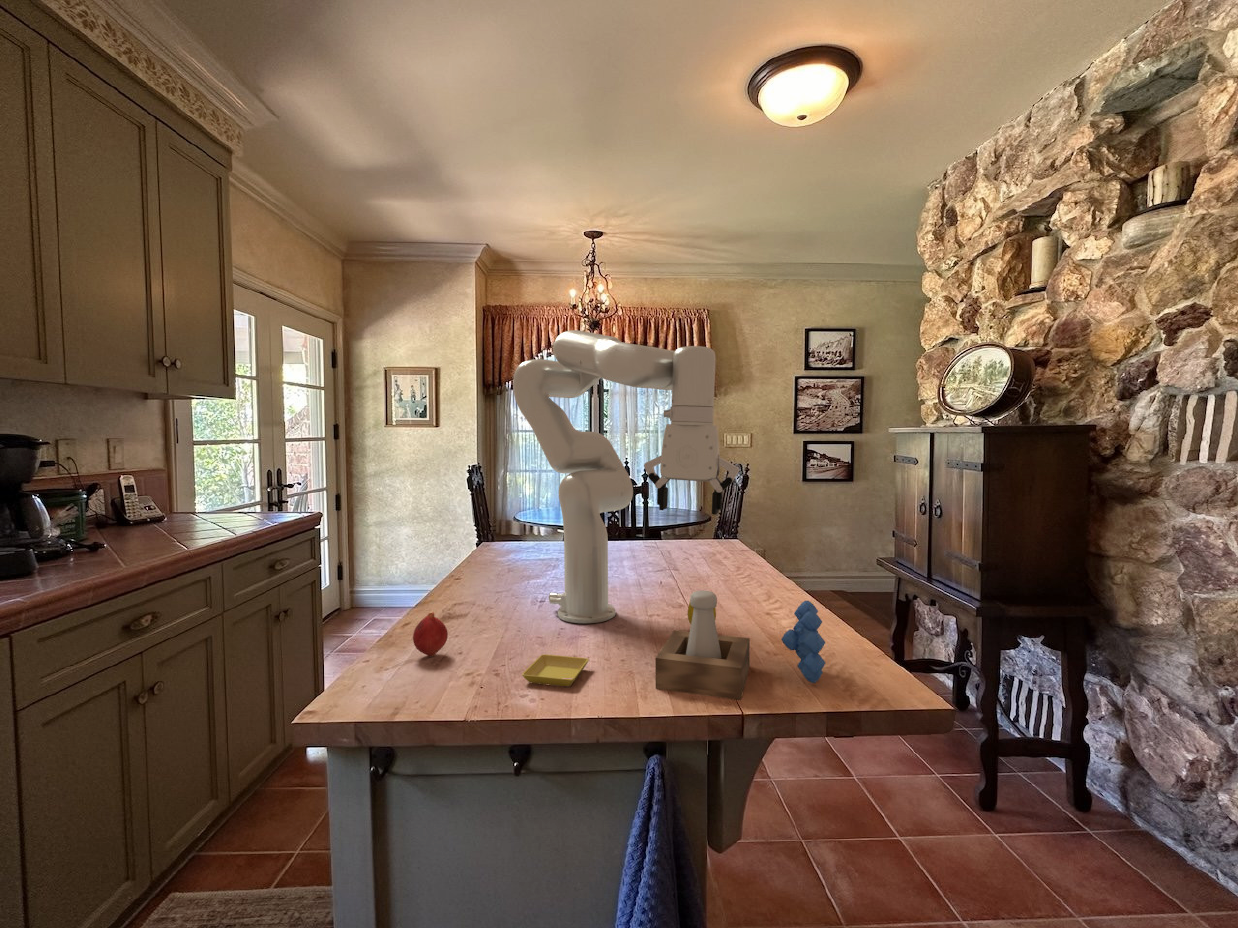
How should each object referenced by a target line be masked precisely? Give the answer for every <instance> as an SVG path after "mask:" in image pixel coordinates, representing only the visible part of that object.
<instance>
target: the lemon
mask: <svg viewBox="0 0 1238 928" xmlns="http://www.w3.org/2000/svg"><path fill="white" fill-rule="evenodd" d="M716 610H717V609H716V607H715V608H713V612H714V618H715V621H716V620H717V619H716V618H717V611H716ZM693 611H694V608H693V607H692V606H691V604H690V602H689V604H688V608H687V619H688V623H689V624H690V625H691V622H692V616H693Z"/></svg>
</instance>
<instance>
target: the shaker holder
mask: <svg viewBox="0 0 1238 928" xmlns="http://www.w3.org/2000/svg"><path fill="white" fill-rule="evenodd" d="M689 634H690V631H684V630H673V631H672V633H671V634H670V635H669V637H668V638H667V640H666V642H665V643H664V645H663V646H662V648H661V649H660V651H659V652H658V653H657V655H656V656H655V662H654V663H655V666H654V667H655V689H658V690H664V691H665V690H666V691H671V692H680V693H687V694H694V695H701V696H708V697H714V698H715V697H716V698H723V699H729V700H736V701H737V700H739V701H742V698H743V694H744V693H743V692H744V690H745V686H746V682H747V677H748V673H749V669H750V665H751V664H750V654H751V651H750V648H751V647H750V645H751V644H750V641H751V640H750V639H751V638H749V637H742V636H741V637H740V636H731V635H721V634H717V635H718V641H719V646H720V651H721V659H715V658H707V657H698V656H690V655H686V651H687V645H688V639H689Z"/></svg>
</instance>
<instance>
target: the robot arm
mask: <svg viewBox="0 0 1238 928" xmlns="http://www.w3.org/2000/svg"><path fill="white" fill-rule="evenodd" d="M552 346H553V347H552V350H553V351H552V352H553V356H554V358H555V359H556V360H551V359H539V358H538V359H537V358H535V359H528V360H524V361H523V362H521V363H520V364H519V365H517V368H516V370H515V372H514V374H513V380H512V381H513V383H512V388H513V395H514V398H515V399H514V400H515V402H516V405H517V406H518V409H519V410H520V412H521V414H522V415H523V417H524V419H525V420H526V422H527V423H528V424H529V426H530V428H531V429H532V431H533V433H534V436H535V438H536V439H537V442H538V444H539V446H540V448H541V450H542V452H543V454H544V457H545V458H546V461H547V462H548V464H549V465H550V467H551V469H552V470H553V471H555V472H557V473H560V474H567V475H566V476H564V478H563V479H562V480H561V482H560V484H559V486H558V500H559V505H560V509H561V515H562V524H563V547H564V548H563V549H564V550H563V554H564V555H563V556H564V557H563V558H564V559H563V560H564V561H563V564H564V565H563V566H564V567H563V568H564V592H562V593H559V592H550V593H549V595H548V602H549V604H552V605H559V606H560V607H559V608H558V610H557V616H558V618H559V619H560V620H562V621H564V622H567V623H574V624H595V623H596V624H597V623H602V622H605V621H606V622H607V621H609V620H611V619H613V618H614V617H615V615H616V608H615V607H614V606H613V605H611V604H609V565H608V564H609V548H608V547H609V546H608V545H609V540H608V531H607V527H606V524H605V523H604V521H603V519H602V517H601V515H600V514H602V513H607V512H609V513H610V512H616V511H620V510H623V509H625V508H626V507H628V506H629V505H630V503H631V501H632V499H633V495H634V488H633V483H632V480H631V478H630V475H629V472H628V471H627V469H626V468H625V466H624V464H623V462H622V461H621V458H620V457H619V455H618V453H617V451H616V450H615V448H614V446H613V444H612V442H611V441H610V440H609V439H608V438H607V437H606V436H605V435H603V434H602V433H599V432H597V431H596V432H595V431H580V430H577V429H576V428H575V427H574V426H573V424H572V423H571V421H570V419H569V417H568V415H567V413H566V412H565V411H564V410H563V408H561V406H559V405H558V404H557V403H556V402H555V401H553V399H551V398H559V399H560V398H561V399H562V398H563V399H575V398H578V397H580V396H582V395H584V394H585V393H586V392H587V391H588V390H589V389H590V388H591V387H593V386H594V385H595V384H596V383H597V382H598V381H599V380H600V379H603V380H606V381H609V382H613V383H615V384H616V383H617V384H618V385H619V384H620V385H623V386H627V387H633V388H637V389H638V388H639V389H640V388H641V389H652V390H653V389H655V390H662V391H671V406H670V408H668V409H664V410H663V418H668V419H669V421H670V423H669V424H665V429H664V434H663V439H662V446H661V455H659V456H657V457H655V458H653V459H650V460H648V461H646V462H644V463H643V467H644V469H645V472H646V474H647V475H648V476H647V477H648V479H649V480H650V481H651V482H652V483H653V485H654V486H655V488H656V489H657V490H656V504H657V505H658V507H659V508H658V509H659V511H664V510H666V509H668V503H669V502H668V501H669V500H668V499H669V487H667V484H668V483H669V482H670V481H671V480H674V481H689V482H691V481H692V482H709V484H710V485H711V486H712V488H713V489H714V490H713V491H714V492H712V499H711V500H712V501H711V514H712V516H713V515H715V516H717V514H719V511H722V509H723V492H724V490H726V489H727V488H728V487H729V486H730V485H732V484H733V482H734V481H735V479H736V477H737V475H738V474H739V472H740V468H739V467H738V466H737V465H734V464H733V463H732V462H730V461H727V460H726V459H724V458H722V457H721V456H720V440H719V439H720V438H719V431H718V426H717V425H714V413H715V412H714V410H715V409H714V407H715V385H716V383H715V381H716V359H717V358H716V352H715V351H714V349H712V348H710V347H707V346H702V345H701V346H700V345H690V346H689V345H688V346H681V347H679V348H677V349H675V350H670V349H665V348H660V347H654V346H648V345H641V344H633V343H629V342H624V341H623V342H622V341H621V340H620V339H619V338H618V337H615V336H611V335H606V334H605V335H604V334H600V333H595V332H588V331H583V330H578V329H571V330H566V331H563V332H562V333H559V335H558V336H557V337H556V338H555V340H554V343H553V345H552ZM658 465H660V470H659V471H660V476H659V474H657V473H656V470H655V467H657V466H658ZM720 467H721V468H723V469H724V470H726V471H728V474H727V476H726V478H725V479H724V480H723V481H721V479H720V478H719V475H720Z"/></svg>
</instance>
